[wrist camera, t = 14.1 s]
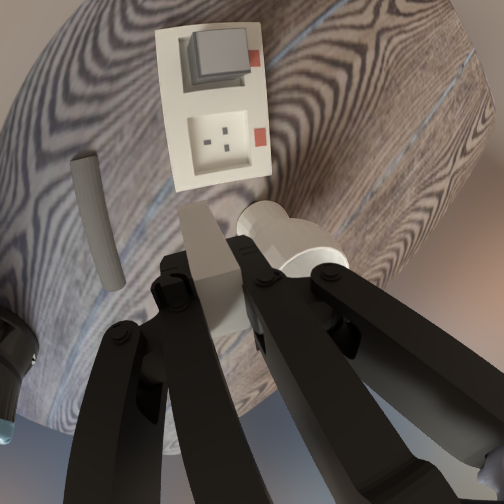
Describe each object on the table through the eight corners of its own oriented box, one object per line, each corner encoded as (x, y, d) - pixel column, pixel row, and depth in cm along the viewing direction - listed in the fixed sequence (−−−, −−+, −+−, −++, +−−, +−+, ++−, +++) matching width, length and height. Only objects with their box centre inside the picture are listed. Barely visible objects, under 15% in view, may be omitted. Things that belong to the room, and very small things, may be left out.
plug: (191, 85, 26) (199, 77, 20) (186, 47, 24) (193, 29, 17) (233, 79, 27) (253, 71, 21) (229, 43, 25) (248, 25, 18)
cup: (229, 189, 35) (268, 243, 23) (301, 191, 38) (365, 239, 26) (224, 259, 40) (254, 332, 28) (289, 255, 43) (338, 317, 31)
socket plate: (175, 187, 33) (176, 192, 31) (155, 35, 22) (154, 30, 20) (266, 170, 35) (272, 175, 33) (254, 26, 25) (260, 22, 23)
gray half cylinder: (103, 286, 37) (101, 293, 35) (69, 159, 27) (65, 162, 25) (128, 282, 38) (127, 289, 36) (99, 152, 28) (95, 155, 26)
